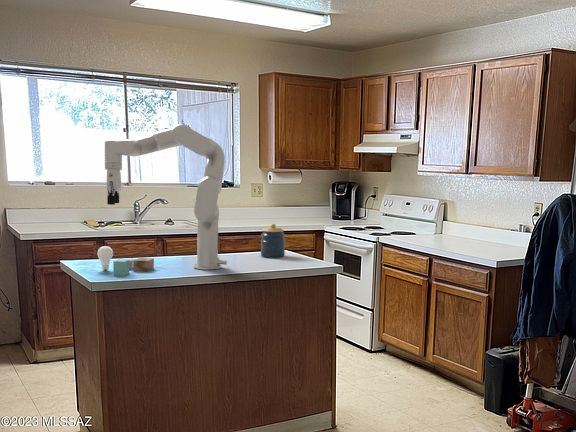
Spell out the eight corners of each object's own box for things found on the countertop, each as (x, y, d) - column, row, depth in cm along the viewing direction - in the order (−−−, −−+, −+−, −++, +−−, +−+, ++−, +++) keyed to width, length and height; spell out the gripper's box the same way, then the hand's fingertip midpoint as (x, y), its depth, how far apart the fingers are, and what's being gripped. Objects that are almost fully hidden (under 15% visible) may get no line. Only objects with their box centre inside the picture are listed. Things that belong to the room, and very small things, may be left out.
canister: (269, 259, 273) (270, 225, 272) (255, 255, 283) (256, 223, 282) (289, 257, 281) (290, 224, 279) (275, 253, 291) (276, 222, 290)
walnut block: (153, 269, 241) (153, 258, 241) (148, 271, 234) (148, 260, 234) (138, 268, 242) (138, 257, 241) (133, 271, 235) (133, 260, 234)
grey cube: (132, 267, 243) (132, 259, 242) (132, 269, 239) (132, 260, 238) (123, 267, 242) (123, 259, 242) (122, 269, 238) (122, 260, 238)
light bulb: (94, 270, 234) (94, 245, 233) (109, 268, 239) (108, 244, 238) (101, 272, 230) (101, 247, 229) (116, 270, 234) (115, 246, 233)
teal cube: (129, 273, 230) (129, 259, 229) (124, 275, 225) (124, 261, 224) (118, 272, 230) (117, 259, 229) (113, 275, 225) (113, 261, 225)
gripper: (118, 166, 234) (118, 205, 236) (125, 167, 251) (125, 202, 253) (100, 166, 233) (100, 204, 235) (109, 166, 250) (109, 202, 252)
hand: (113, 203), depth 244 cm, fingers open, 9 cm apart
